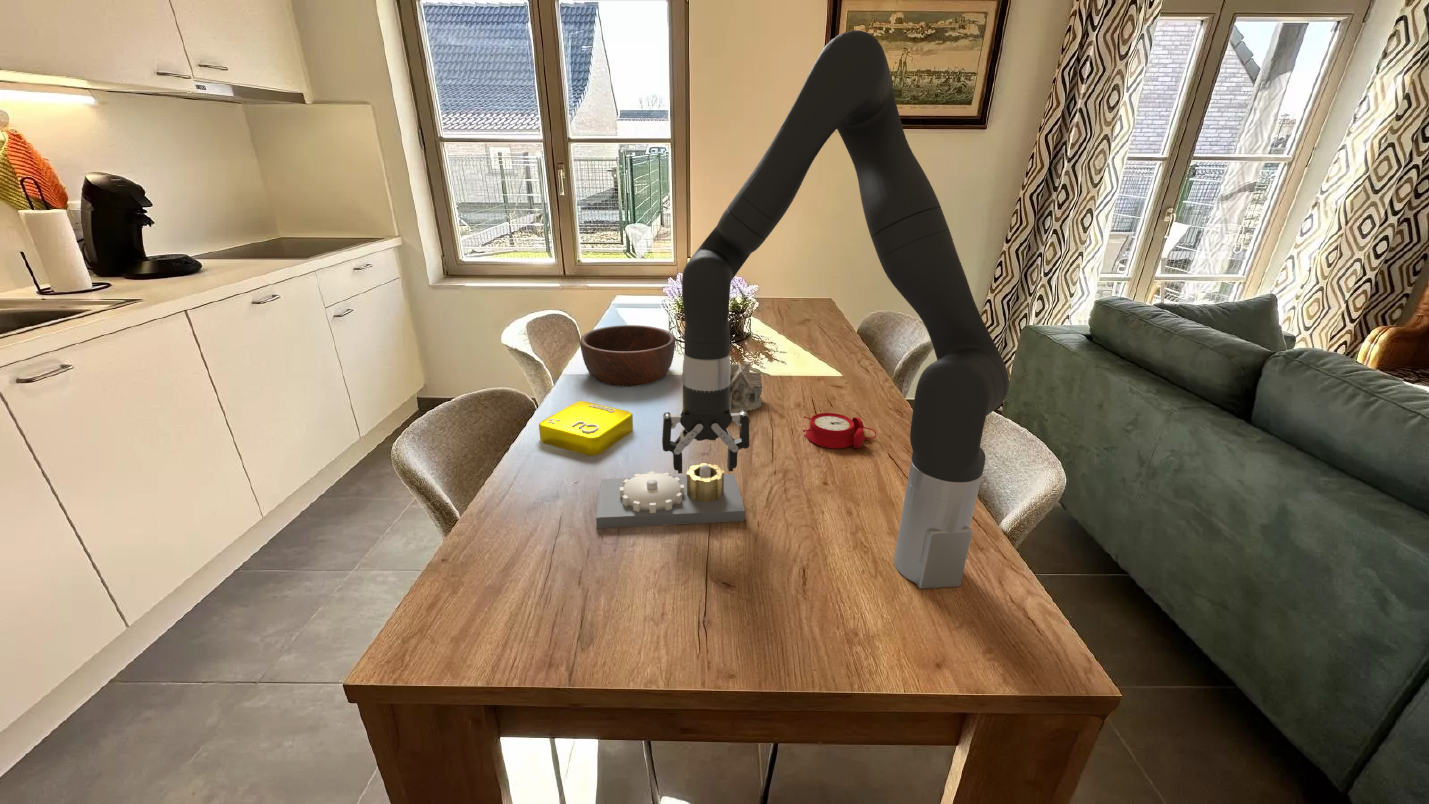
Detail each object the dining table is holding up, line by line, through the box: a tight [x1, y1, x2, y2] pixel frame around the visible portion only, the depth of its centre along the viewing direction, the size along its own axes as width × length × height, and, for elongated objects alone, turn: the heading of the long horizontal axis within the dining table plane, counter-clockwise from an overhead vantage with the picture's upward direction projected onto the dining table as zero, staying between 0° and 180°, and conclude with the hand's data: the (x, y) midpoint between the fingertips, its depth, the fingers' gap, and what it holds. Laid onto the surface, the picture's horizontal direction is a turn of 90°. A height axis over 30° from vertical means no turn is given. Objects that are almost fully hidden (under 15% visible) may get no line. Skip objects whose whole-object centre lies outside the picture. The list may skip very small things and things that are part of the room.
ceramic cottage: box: [729, 361, 763, 413], centre depth 140 cm, size 16×16×15 cm
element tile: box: [538, 400, 634, 457], centre depth 125 cm, size 15×15×5 cm
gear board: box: [595, 465, 746, 529], centre depth 100 cm, size 12×24×7 cm, turn 97°
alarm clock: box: [802, 412, 877, 450], centre depth 126 cm, size 10×6×15 cm
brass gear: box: [686, 462, 725, 503], centre depth 101 cm, size 6×6×4 cm
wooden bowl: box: [579, 324, 676, 387], centre depth 158 cm, size 25×25×10 cm
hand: (705, 470), depth 100 cm, fingers open, 8 cm apart
